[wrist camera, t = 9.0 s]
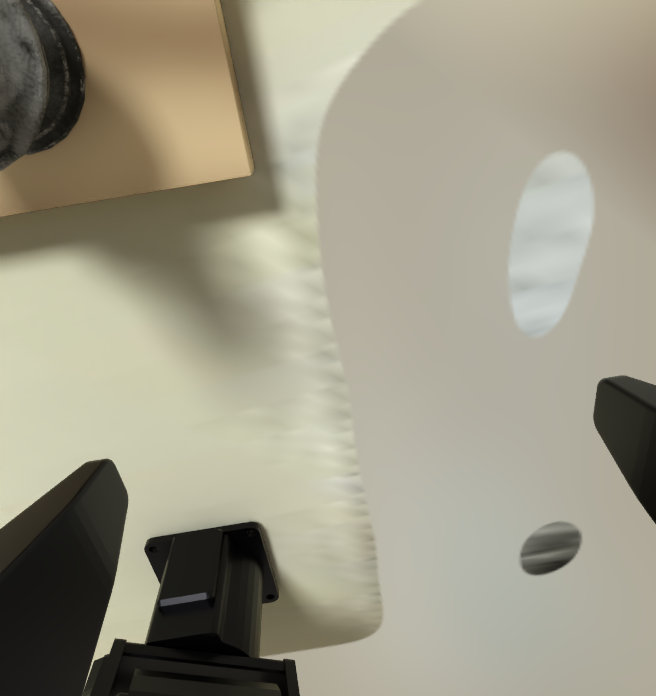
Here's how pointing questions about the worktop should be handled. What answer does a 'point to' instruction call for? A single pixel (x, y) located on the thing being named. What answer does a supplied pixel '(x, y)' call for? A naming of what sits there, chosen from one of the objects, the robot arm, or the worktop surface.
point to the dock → (140, 108)
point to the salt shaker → (37, 78)
